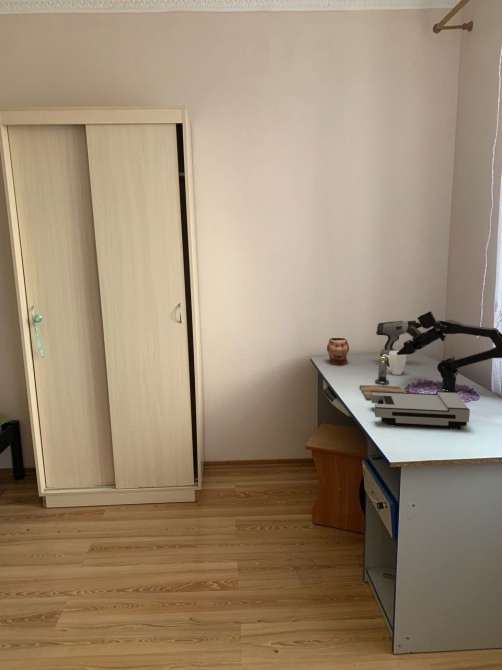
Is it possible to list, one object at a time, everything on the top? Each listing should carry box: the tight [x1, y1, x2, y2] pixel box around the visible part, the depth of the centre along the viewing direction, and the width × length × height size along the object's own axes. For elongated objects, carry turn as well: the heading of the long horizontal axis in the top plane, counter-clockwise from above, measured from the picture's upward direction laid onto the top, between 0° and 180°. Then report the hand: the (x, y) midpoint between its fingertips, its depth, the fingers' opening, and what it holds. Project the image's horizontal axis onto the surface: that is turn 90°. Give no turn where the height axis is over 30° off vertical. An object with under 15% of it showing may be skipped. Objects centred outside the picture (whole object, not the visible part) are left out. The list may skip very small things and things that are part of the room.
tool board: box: [359, 384, 406, 401], centre depth 205 cm, size 18×18×1 cm
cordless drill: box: [375, 320, 423, 367], centre depth 254 cm, size 8×24×25 cm, turn 78°
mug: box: [383, 350, 407, 376], centre depth 237 cm, size 12×8×11 cm
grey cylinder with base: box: [374, 355, 390, 386], centre depth 221 cm, size 6×6×13 cm
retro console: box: [370, 390, 471, 431], centre depth 176 cm, size 21×32×8 cm, turn 80°
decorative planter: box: [326, 337, 350, 365], centre depth 261 cm, size 20×12×14 cm, turn 2°
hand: (400, 352), depth 222 cm, fingers open, 9 cm apart
